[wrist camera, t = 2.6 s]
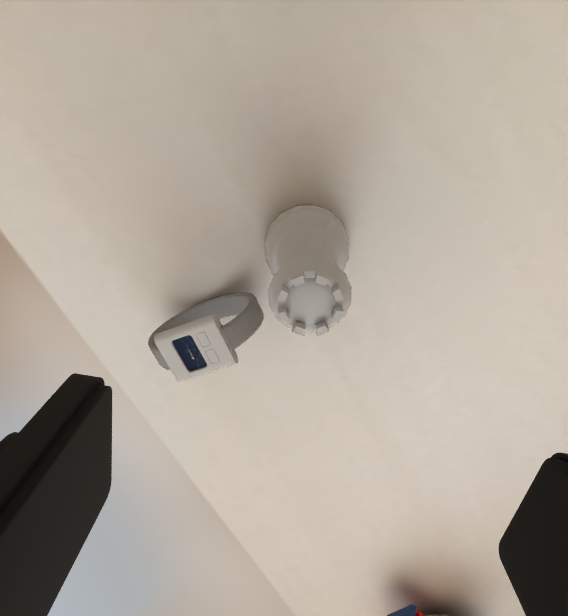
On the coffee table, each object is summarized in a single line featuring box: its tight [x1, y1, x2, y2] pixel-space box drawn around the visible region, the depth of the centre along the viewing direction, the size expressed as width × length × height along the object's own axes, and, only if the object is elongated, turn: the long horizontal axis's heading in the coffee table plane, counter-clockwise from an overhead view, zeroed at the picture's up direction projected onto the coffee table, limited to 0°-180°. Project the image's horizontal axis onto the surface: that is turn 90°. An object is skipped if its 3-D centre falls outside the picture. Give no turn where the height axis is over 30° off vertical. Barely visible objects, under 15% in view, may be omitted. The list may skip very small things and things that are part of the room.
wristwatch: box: [148, 292, 264, 382], centre depth 23 cm, size 6×3×5 cm, turn 112°
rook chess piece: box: [265, 205, 351, 336], centre depth 19 cm, size 4×4×8 cm
